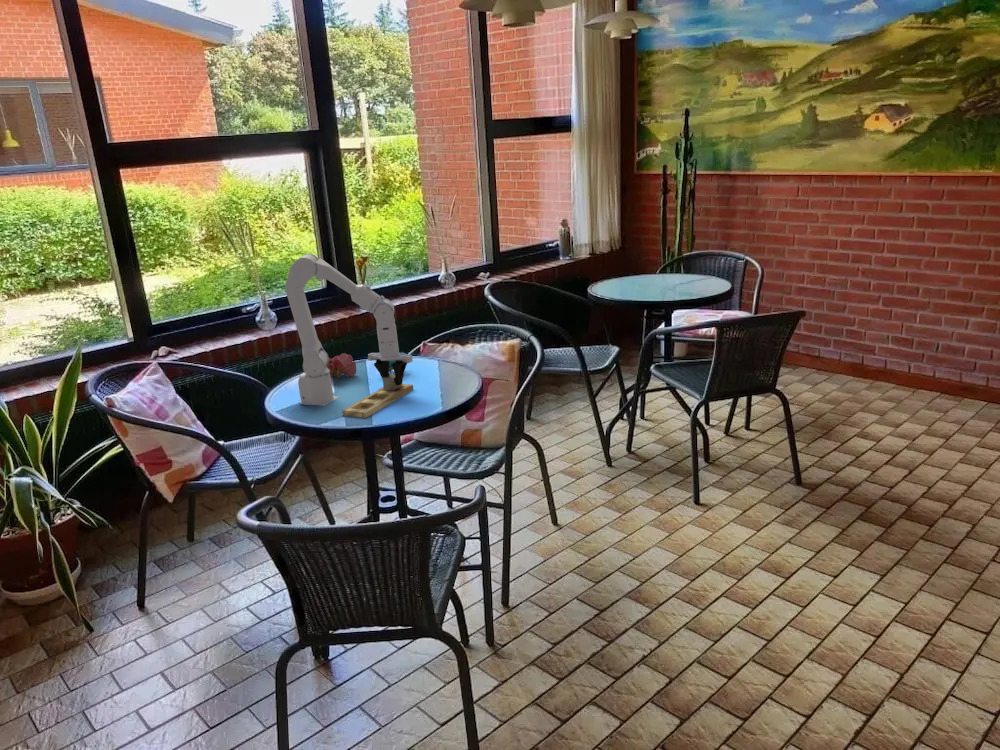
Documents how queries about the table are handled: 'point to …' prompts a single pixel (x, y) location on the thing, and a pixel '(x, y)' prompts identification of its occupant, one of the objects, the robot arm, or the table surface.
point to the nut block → (390, 383)
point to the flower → (341, 365)
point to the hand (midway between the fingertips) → (393, 383)
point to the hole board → (375, 401)
